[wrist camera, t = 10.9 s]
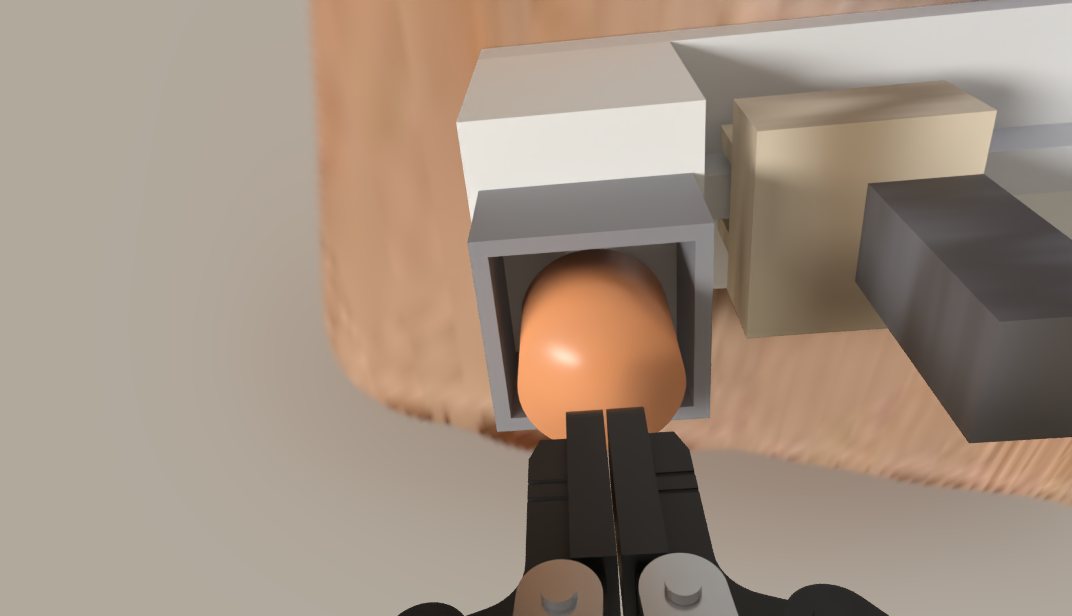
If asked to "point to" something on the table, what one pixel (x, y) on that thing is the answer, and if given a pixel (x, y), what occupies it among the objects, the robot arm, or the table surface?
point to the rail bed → (717, 145)
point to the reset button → (597, 342)
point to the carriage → (902, 247)
